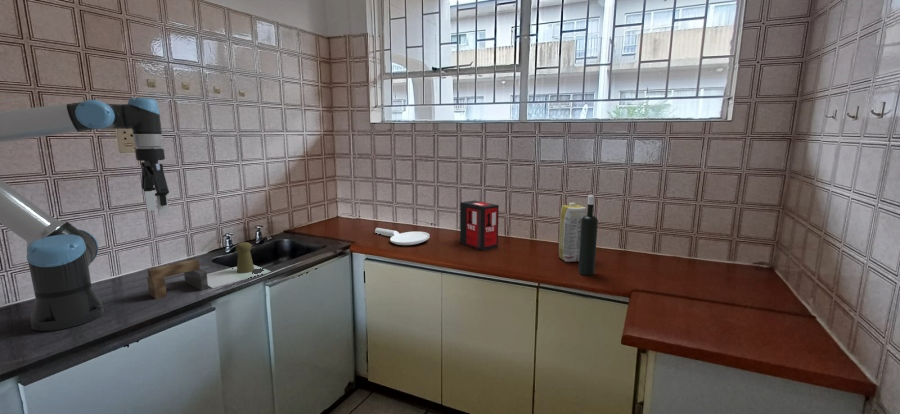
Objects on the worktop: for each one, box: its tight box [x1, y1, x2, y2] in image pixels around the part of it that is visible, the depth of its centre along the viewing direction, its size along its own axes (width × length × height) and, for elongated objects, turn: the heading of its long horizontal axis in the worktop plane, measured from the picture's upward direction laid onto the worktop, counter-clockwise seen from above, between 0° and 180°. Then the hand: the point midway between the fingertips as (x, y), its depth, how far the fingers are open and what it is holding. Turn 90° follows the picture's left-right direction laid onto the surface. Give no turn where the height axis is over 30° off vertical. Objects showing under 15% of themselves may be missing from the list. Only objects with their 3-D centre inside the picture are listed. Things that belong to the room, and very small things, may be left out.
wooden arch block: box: [146, 258, 209, 300], centre depth 137 cm, size 14×14×9 cm
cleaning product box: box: [459, 200, 499, 252], centre depth 191 cm, size 16×9×20 cm, turn 38°
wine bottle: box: [578, 194, 599, 277], centre depth 152 cm, size 6×6×30 cm
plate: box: [207, 264, 272, 290], centre depth 152 cm, size 21×16×1 cm
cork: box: [235, 241, 255, 273], centre depth 155 cm, size 6×6×11 cm
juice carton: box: [558, 202, 587, 263], centre depth 169 cm, size 9×8×24 cm
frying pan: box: [374, 227, 430, 246], centre depth 204 cm, size 35×19×5 cm, turn 48°
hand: (157, 212), depth 135 cm, fingers open, 13 cm apart
